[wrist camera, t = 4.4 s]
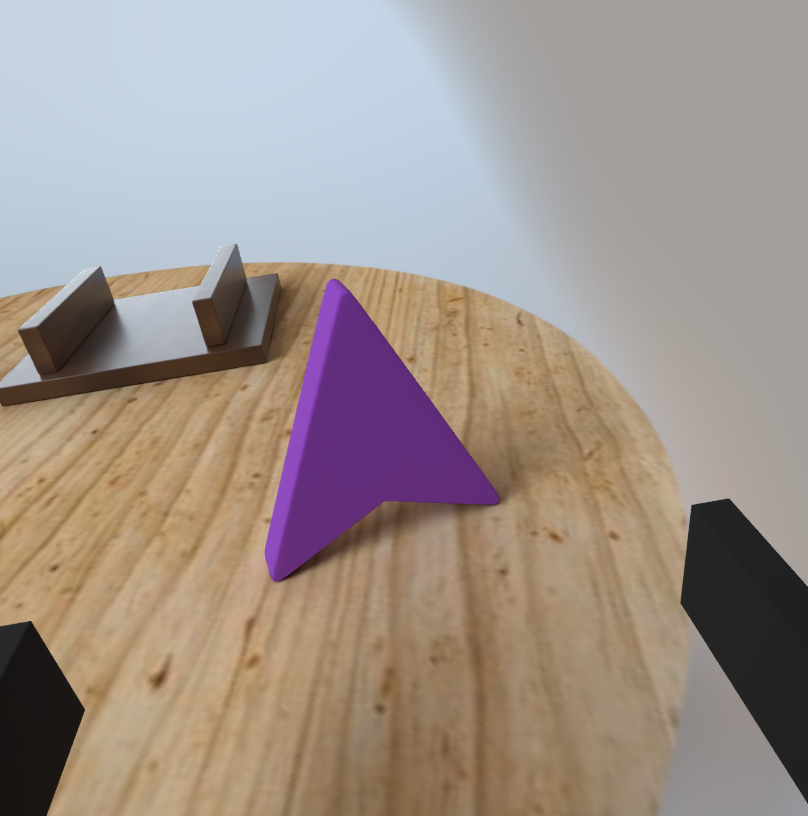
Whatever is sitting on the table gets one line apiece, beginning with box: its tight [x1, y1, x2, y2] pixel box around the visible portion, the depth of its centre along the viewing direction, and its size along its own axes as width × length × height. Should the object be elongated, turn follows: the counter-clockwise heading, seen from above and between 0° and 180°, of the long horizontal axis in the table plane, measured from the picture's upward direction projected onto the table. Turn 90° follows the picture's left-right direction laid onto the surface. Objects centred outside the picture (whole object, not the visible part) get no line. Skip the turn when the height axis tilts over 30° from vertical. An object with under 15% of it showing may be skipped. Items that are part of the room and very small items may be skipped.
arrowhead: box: [265, 279, 500, 581], centre depth 23 cm, size 10×2×10 cm
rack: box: [0, 244, 281, 406], centre depth 44 cm, size 16×14×4 cm
